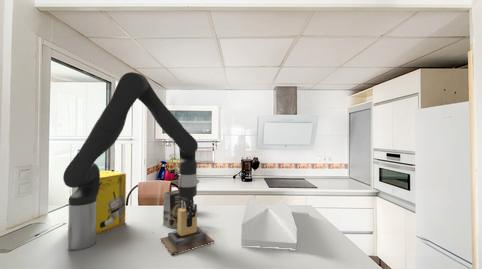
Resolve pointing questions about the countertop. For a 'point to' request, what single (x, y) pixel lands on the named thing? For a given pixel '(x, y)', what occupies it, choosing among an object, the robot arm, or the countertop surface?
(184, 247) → the slot base
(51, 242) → the countertop surface
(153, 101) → the robot arm
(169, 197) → the coffee box
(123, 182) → the packaging box
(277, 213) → the building model
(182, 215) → the key block
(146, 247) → the countertop surface
